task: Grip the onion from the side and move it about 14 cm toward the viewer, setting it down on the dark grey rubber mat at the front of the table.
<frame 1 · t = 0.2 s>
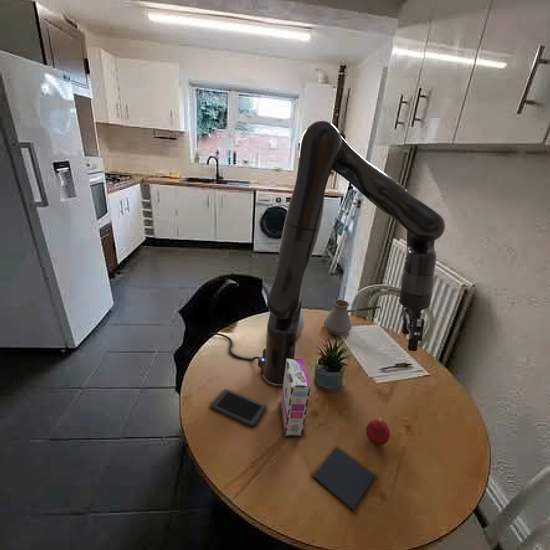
hand: (408, 341, 86), 22 cm above the table, tool pointing down, fingers open, 8 cm apart
decorative egg: (287, 334, 125), on the table
front mat: (344, 477, 71), on the table
coffee pot: (348, 333, 129), on the table
onion: (374, 442, 81), on the table
cell phone: (238, 408, 87), on the table
candy bar box: (291, 419, 85), on the table
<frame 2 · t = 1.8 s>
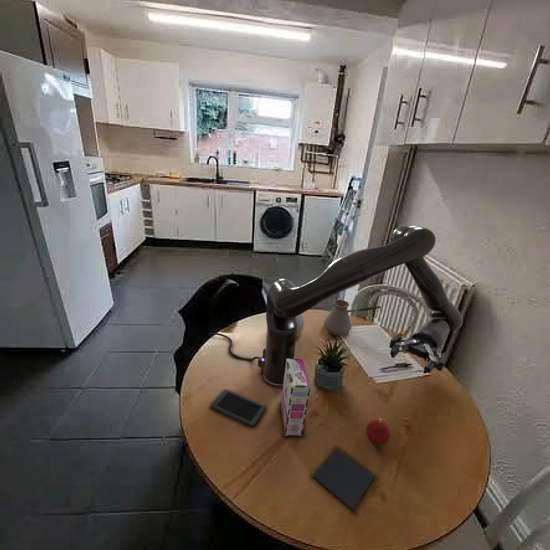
hand: (408, 362, 81), 20 cm above the table, tool horizontal, fingers open, 8 cm apart
nothing on the table moved.
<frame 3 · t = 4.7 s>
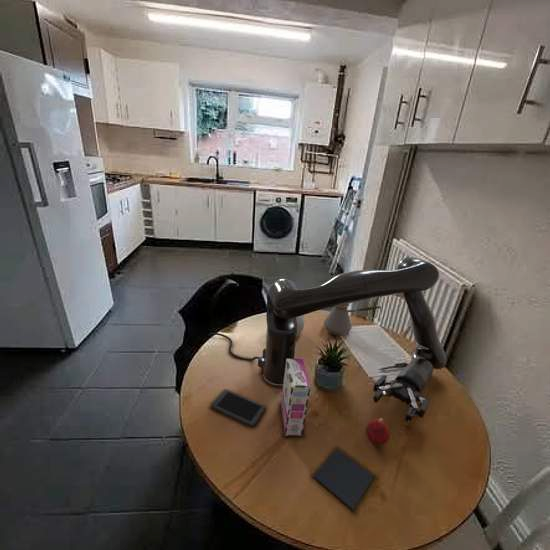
hand: (390, 408, 83), 7 cm above the table, tool horizontal, fingers open, 8 cm apart
nothing on the table moved.
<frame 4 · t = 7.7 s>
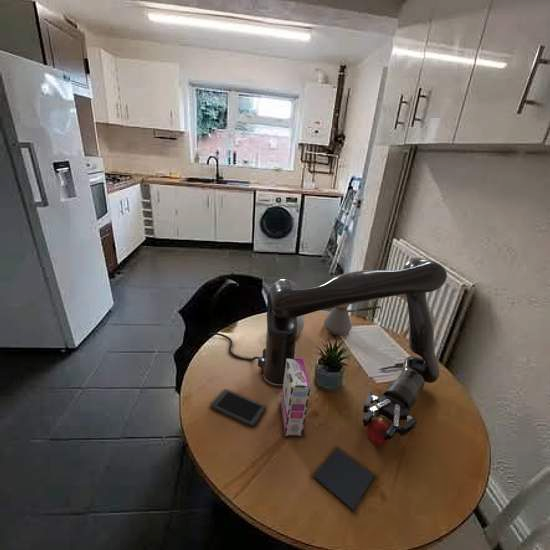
hand: (375, 430, 76), 7 cm above the table, tool horizontal, fingers closed on onion, 5 cm apart
onion: (374, 442, 81), on the table, touching gripper
everything else where it was.
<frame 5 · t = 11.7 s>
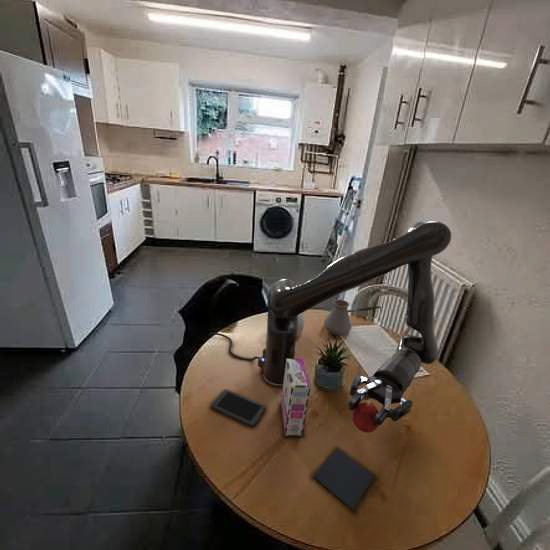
hand: (363, 414, 65), 19 cm above the table, tool horizontal, fingers closed on onion, 5 cm apart
onion: (363, 430, 69), point 12 cm above the table, touching gripper
everything else where it was.
when the fingers open (7 cm above the table, at t = 15.7 s): onion stays where it is, resting on front mat.
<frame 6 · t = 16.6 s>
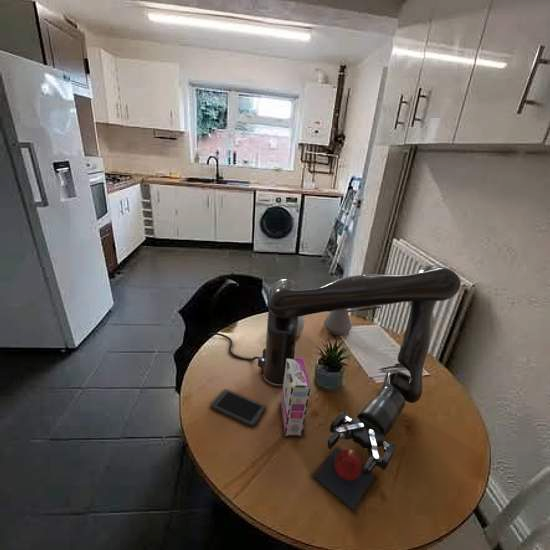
hand: (345, 458, 67), 8 cm above the table, tool horizontal, fingers open, 8 cm apart
onion: (345, 476, 71), resting on front mat
everything else where it was.
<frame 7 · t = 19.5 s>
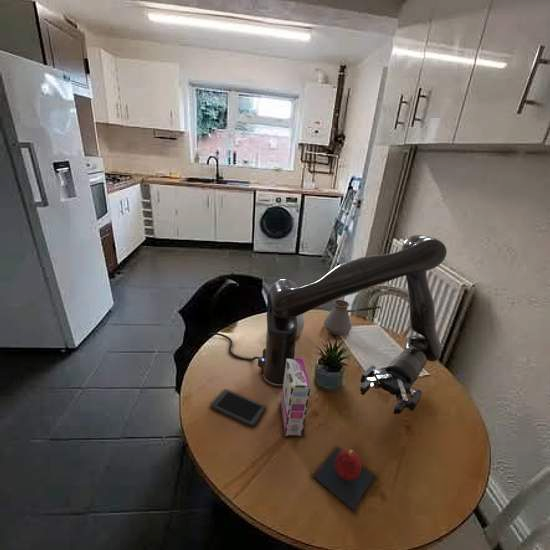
hand: (378, 401, 75), 14 cm above the table, tool horizontal, fingers open, 8 cm apart
nothing on the table moved.
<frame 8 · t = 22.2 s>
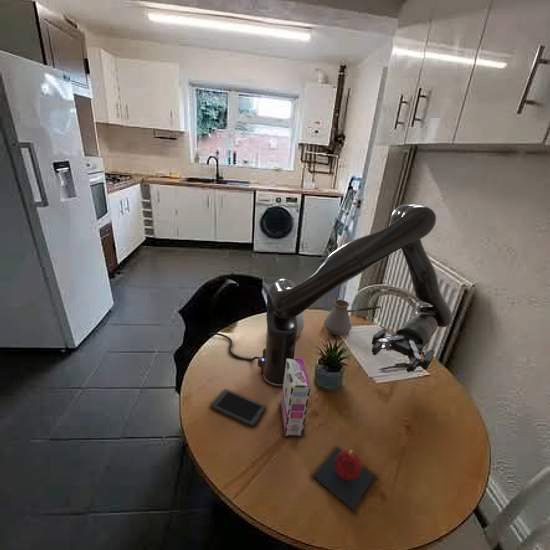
hand: (390, 360, 74), 24 cm above the table, tool horizontal, fingers open, 8 cm apart
nothing on the table moved.
at the end: onion inside the target area on the front mat (0.1 cm from its centre), point 0.2 cm above the front mat's base; the gripper is holding nothing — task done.
